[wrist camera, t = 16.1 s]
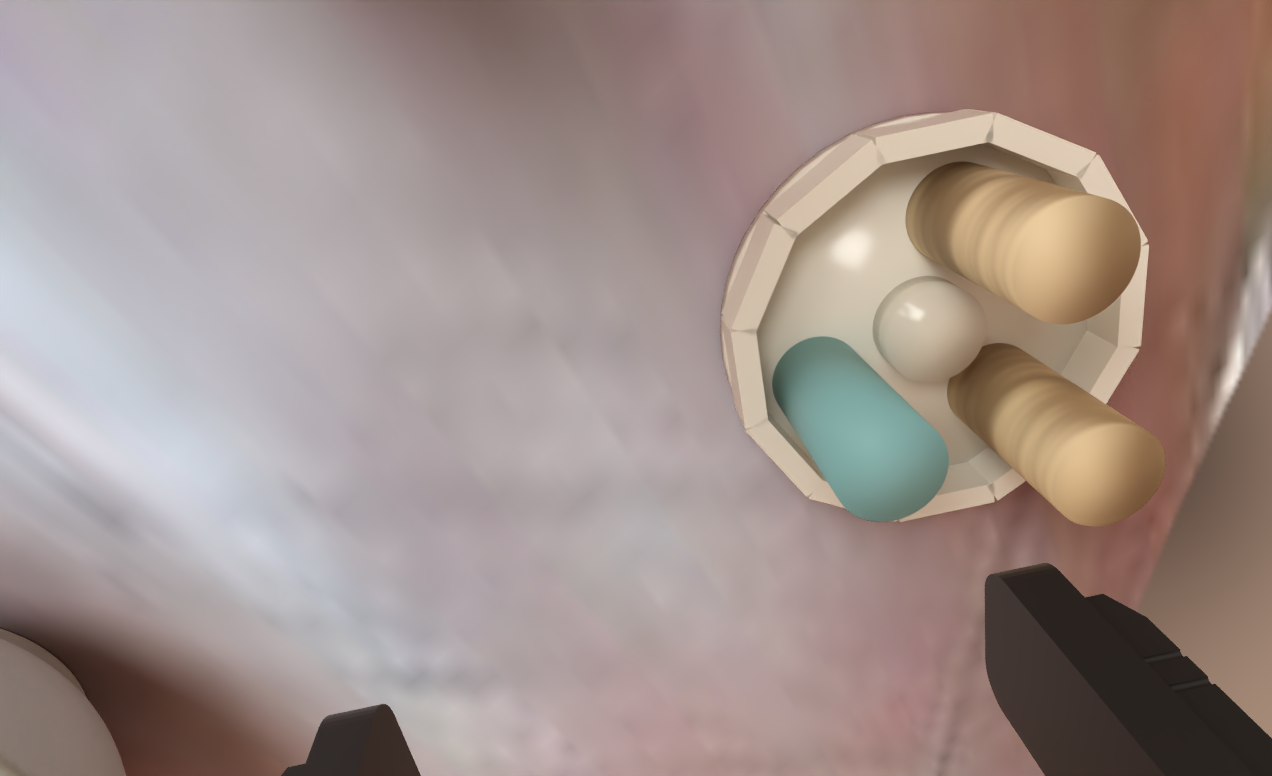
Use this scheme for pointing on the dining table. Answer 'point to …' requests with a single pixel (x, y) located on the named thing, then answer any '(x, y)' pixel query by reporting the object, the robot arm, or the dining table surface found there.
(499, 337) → the dining table surface
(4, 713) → the decorative bowl
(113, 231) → the dining table surface
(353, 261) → the dining table surface
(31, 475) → the dining table surface
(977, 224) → the tan rounded cylinder
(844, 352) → the teal rounded cylinder
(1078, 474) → the ribbed wooden peg
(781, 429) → the ring dish
